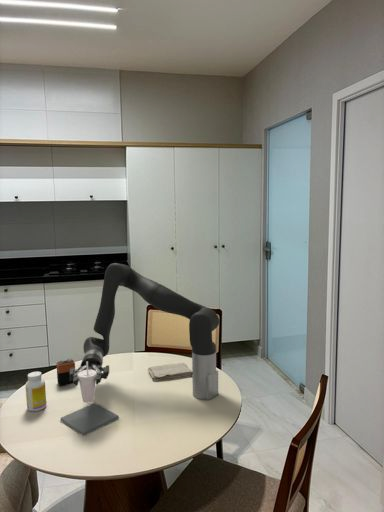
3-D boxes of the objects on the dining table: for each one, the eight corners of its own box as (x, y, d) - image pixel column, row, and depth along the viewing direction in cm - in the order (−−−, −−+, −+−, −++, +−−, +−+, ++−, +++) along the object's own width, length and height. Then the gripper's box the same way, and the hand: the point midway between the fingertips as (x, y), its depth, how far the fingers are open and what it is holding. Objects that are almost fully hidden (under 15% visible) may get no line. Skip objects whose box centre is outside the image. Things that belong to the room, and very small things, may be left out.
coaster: (118, 418, 137) (118, 415, 136) (83, 435, 126) (83, 433, 126) (95, 405, 146) (95, 402, 146) (60, 420, 136) (60, 417, 135)
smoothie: (80, 406, 131) (79, 366, 129) (76, 398, 137) (75, 359, 135) (100, 401, 134) (98, 362, 132) (95, 393, 140) (93, 356, 138)
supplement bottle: (50, 404, 147) (48, 371, 145) (38, 413, 141) (35, 379, 139) (35, 401, 149) (33, 369, 147) (23, 410, 143) (20, 376, 141)
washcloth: (146, 372, 176) (146, 365, 175) (185, 366, 181) (184, 360, 181) (153, 383, 164) (152, 376, 164) (193, 376, 170) (193, 370, 170)
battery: (76, 383, 164) (74, 360, 163) (59, 387, 161) (57, 363, 160) (74, 379, 168) (72, 356, 167) (57, 382, 165) (56, 359, 164)
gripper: (72, 354, 147) (63, 373, 131) (111, 351, 149) (108, 370, 132) (72, 373, 148) (64, 394, 132) (111, 370, 150) (108, 391, 133)
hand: (86, 382), depth 132 cm, fingers closed on smoothie, 6 cm apart
